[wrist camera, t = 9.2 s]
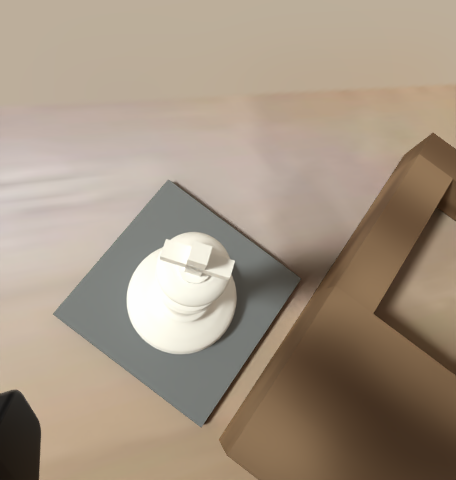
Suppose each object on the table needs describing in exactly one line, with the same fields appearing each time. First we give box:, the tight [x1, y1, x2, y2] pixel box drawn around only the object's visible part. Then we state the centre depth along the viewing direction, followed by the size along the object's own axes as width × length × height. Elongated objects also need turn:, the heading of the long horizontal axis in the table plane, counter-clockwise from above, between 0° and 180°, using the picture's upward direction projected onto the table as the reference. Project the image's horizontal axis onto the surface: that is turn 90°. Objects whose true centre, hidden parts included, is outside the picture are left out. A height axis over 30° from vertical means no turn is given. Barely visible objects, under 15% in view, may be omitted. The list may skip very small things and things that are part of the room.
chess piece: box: [127, 232, 237, 354], centre depth 14 cm, size 5×5×10 cm
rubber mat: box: [53, 180, 301, 427], centre depth 19 cm, size 8×8×1 cm
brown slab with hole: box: [219, 133, 456, 480], centre depth 19 cm, size 18×12×2 cm
